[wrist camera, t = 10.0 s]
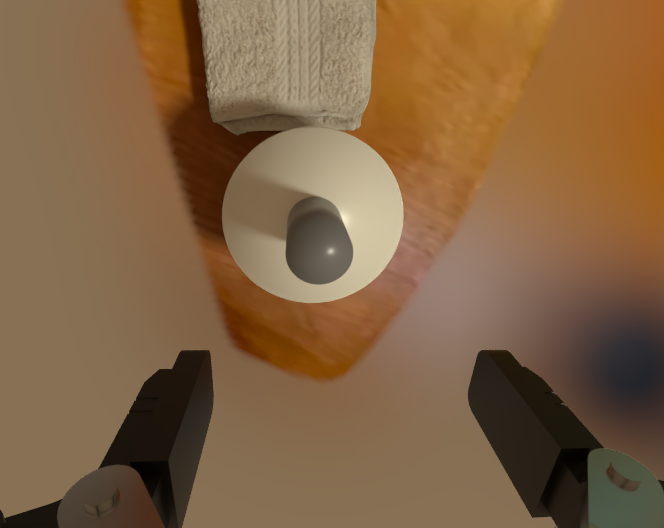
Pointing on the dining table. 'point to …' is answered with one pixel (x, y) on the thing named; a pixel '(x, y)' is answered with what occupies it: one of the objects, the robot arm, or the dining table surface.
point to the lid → (312, 214)
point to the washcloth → (287, 62)
